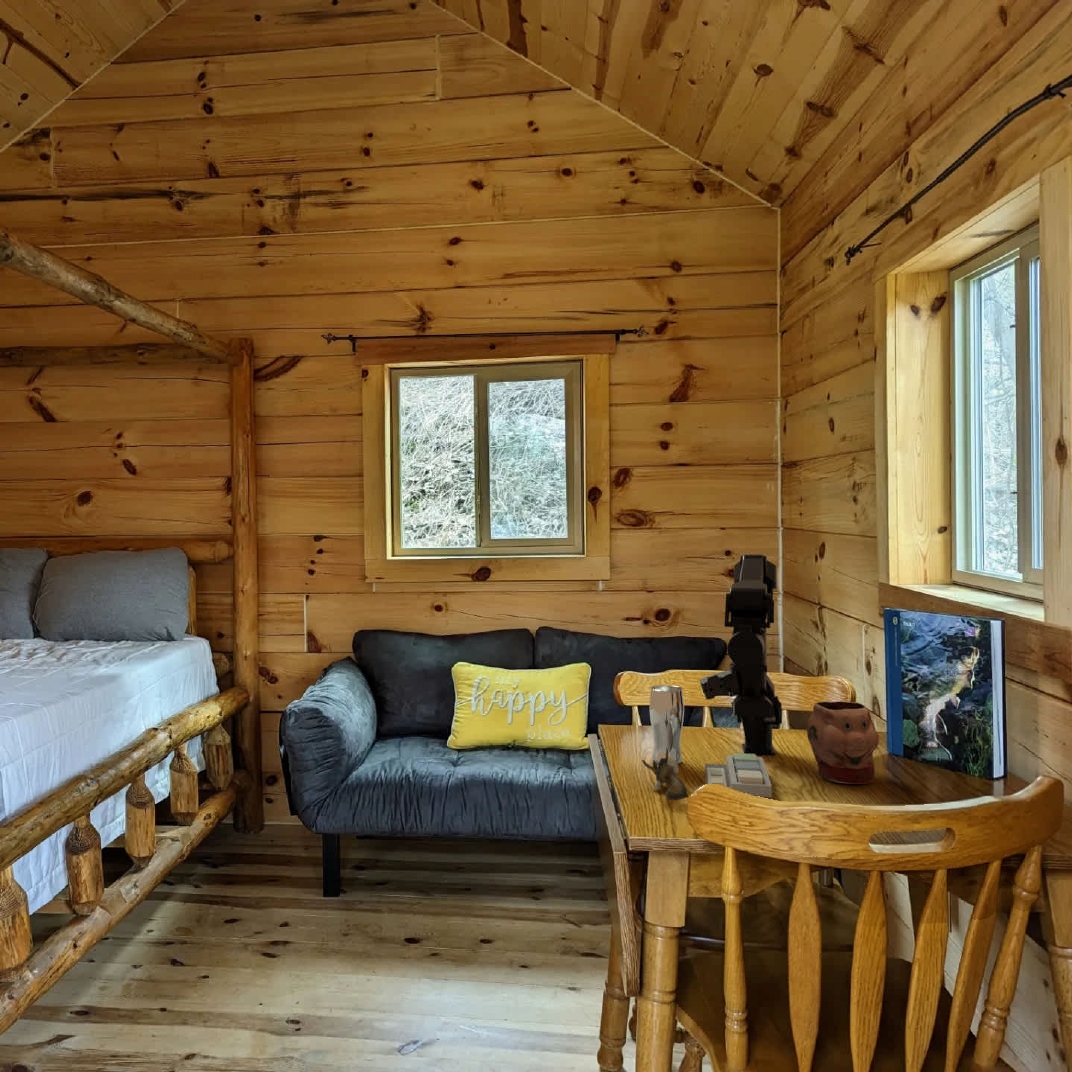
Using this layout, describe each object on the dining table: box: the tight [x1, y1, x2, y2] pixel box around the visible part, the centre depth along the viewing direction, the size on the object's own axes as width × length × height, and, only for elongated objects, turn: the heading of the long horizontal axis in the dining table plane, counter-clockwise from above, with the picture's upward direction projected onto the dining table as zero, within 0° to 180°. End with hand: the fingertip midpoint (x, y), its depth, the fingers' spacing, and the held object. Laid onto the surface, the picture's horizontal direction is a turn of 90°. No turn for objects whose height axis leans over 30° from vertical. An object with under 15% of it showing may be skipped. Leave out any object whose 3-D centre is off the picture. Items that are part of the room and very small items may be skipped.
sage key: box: [733, 752, 757, 764], centre depth 147 cm, size 4×4×2 cm
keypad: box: [704, 755, 774, 800], centre depth 142 cm, size 19×11×3 cm, turn 169°
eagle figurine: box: [641, 758, 688, 801], centre depth 139 cm, size 8×7×9 cm
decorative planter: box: [806, 700, 880, 785], centre depth 148 cm, size 20×12×14 cm, turn 3°
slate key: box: [736, 761, 760, 773], centre depth 142 cm, size 4×4×2 cm
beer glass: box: [649, 684, 685, 766], centre depth 158 cm, size 7×7×15 cm
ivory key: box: [738, 770, 763, 784], centre depth 136 cm, size 4×4×2 cm
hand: (749, 745), depth 136 cm, fingers closed
